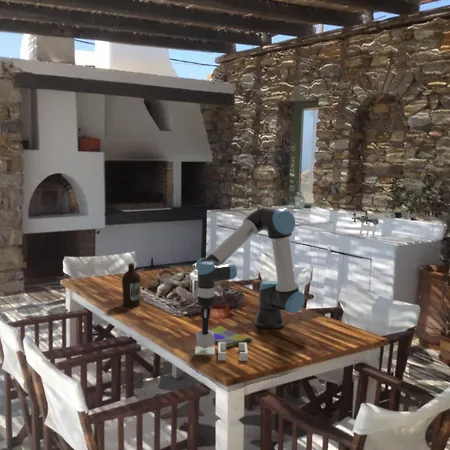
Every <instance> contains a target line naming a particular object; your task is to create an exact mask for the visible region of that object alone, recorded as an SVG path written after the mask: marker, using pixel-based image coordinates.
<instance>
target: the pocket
mask: <svg viewBox="0 0 450 450" xmlns="http://www.w3.org/2000/svg"><path fill="white" fill-rule="evenodd" d="M217 347H218V348H217V360H218V361H227V348H226V342H218V345H217ZM238 351H239V361H240V362H241V361H244V362H246V361H247V362H248V361H249V360H248V355H249V353H248V352H249V351H248V343H239V345H238Z"/></svg>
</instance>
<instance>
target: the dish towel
mask: <svg viewBox="0 0 450 450" xmlns="http://www.w3.org/2000/svg"><path fill="white" fill-rule="evenodd" d="M210 330H211V331H213V333H214V340H215V343H214V344H213V345H216V346H218V342H226V349H227V348H232V347H235V346H239V343H247V344H248V343H251V342H252V341H253V339H252V338H251V337H249V336H244V335H241V334H239V333H235V332H234V331H232V330H229V329H228V328H225V327H223V326H222V325H219V326H217V327H215V328H213V329H210Z"/></svg>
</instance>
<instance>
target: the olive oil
mask: <svg viewBox="0 0 450 450" xmlns="http://www.w3.org/2000/svg"><path fill="white" fill-rule="evenodd" d="M127 267H128V270H127V271H126V272H125V273H124V274H123V275H122V278H121V285H122V304H123V307H125V308H138V307H139V306H140V304H141V284H142V283H141V281H142V280H141V276H140V274H139V273H138V272H137V271H136V270H135V263H134V262H130V263H128V265H127Z"/></svg>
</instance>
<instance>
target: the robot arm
mask: <svg viewBox="0 0 450 450" xmlns="http://www.w3.org/2000/svg"><path fill="white" fill-rule="evenodd" d="M295 226H296V219H295V216H294V215H293V213H292V212H291V211H289V210H287V209H284V208H276V207H269V206H264V207H260V208H258V209H256V210H254V211H253V212H251V213H250V214H249V215H248V216H247V217H246V218H244V219H243V221H242V224H241V225H239V227H238V228H236V229H235V231H234V232H232V233H231V234H230V235H229V236H228V237H227V238H225V240H223V242H222V243H221V244H220V245H219V246H217V248H215V249H214V250H213V251H212V252H211V253H210V254H209V255H207V257H200V258H199V259H198V260H197V261H196V264H195V269H196V271H197V288H196V291H197V305H198V306H200V307H201V306H202V307H201V309H200V311H201V320H202V329H201V330H202V334H208V329H209V330H211V328H210V327H209V320H210V313H211V307H212V306H214V304H215V283H216V282H217V283H218V282H223V281H224V282H225V281H230V280H233V279H235V278H236V277H237V274H238V270H237V266H236V265H235V264H234V263H231V262H227V261H228V259H229V258H231V256H233V255H234V253H236V251H238V250H239V249H240V248H241V247H242V246H243V245H244V244H245V243H246V242H247V241H248V240H249V239H251V237H252V236H256V235H258V234H259V232H262V231H266V232H267V237H268V238H269V239H270V240H271V243H272V244H271V245H272V249H273V256H274V257H273V258H274V259H273V260H274V263H275V264H274V265H275V272H276V279H277V280H269V281H268V280H267V281H263V282H260V284H259V289H258V311H257V314H256V317H255V321H254V322H255V326H257V327H259V328H263V329H279V328H282V327H284V326H285V321H284V316H283V313H282V311H285V312H286V313H289V314H296V313H298V312H300V311H301V309H303V307H304V304H305V300H306V299H305V295H304V293H303V292H302V291H300V287H299V284H298V282H296V281H295V280H296V279H295V273H294V264H293V257H292V250H291V249H292V248H291V242H290V237H291V236H292V235H293V234H292V233H293V231H294V230H295ZM225 262H227V263H225ZM207 348H208V347H207Z"/></svg>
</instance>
